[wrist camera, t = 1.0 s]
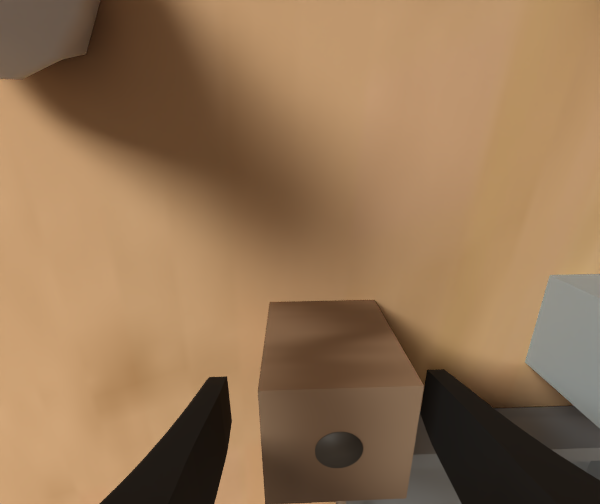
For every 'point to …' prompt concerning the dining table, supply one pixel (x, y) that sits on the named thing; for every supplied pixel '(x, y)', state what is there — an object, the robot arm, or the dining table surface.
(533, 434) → the tray
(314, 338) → the small bore block
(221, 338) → the dining table surface
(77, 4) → the salt shaker
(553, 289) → the wide bore block
